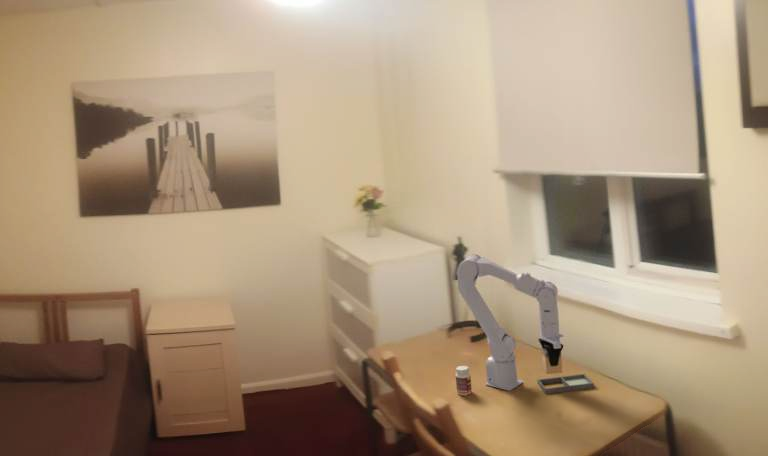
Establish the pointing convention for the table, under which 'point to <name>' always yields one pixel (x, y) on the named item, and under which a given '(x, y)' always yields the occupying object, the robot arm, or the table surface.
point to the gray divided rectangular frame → (566, 383)
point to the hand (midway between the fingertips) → (551, 363)
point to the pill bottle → (463, 380)
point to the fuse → (546, 364)
